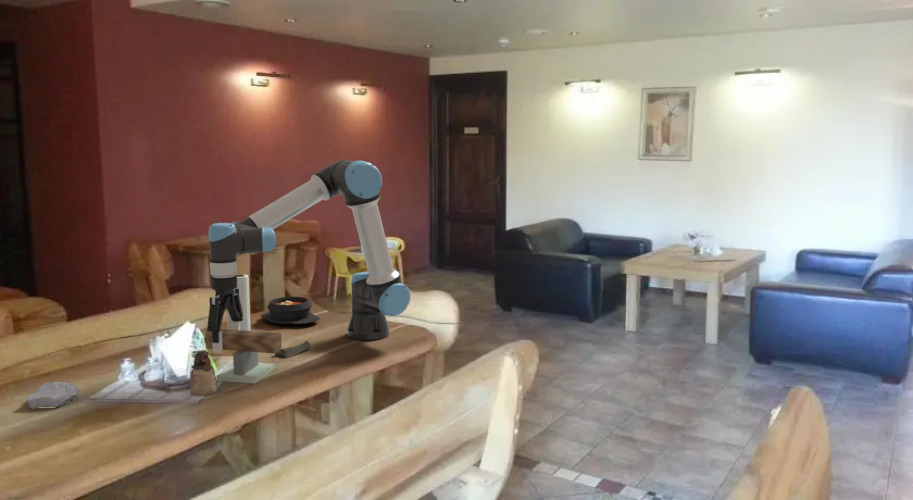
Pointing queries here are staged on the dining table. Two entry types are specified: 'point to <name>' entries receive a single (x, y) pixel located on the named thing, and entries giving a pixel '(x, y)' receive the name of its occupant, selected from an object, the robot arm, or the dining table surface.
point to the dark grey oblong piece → (293, 350)
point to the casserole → (290, 311)
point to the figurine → (203, 375)
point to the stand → (245, 368)
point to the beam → (247, 341)
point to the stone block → (53, 395)
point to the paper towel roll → (242, 302)
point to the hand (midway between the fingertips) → (226, 347)
